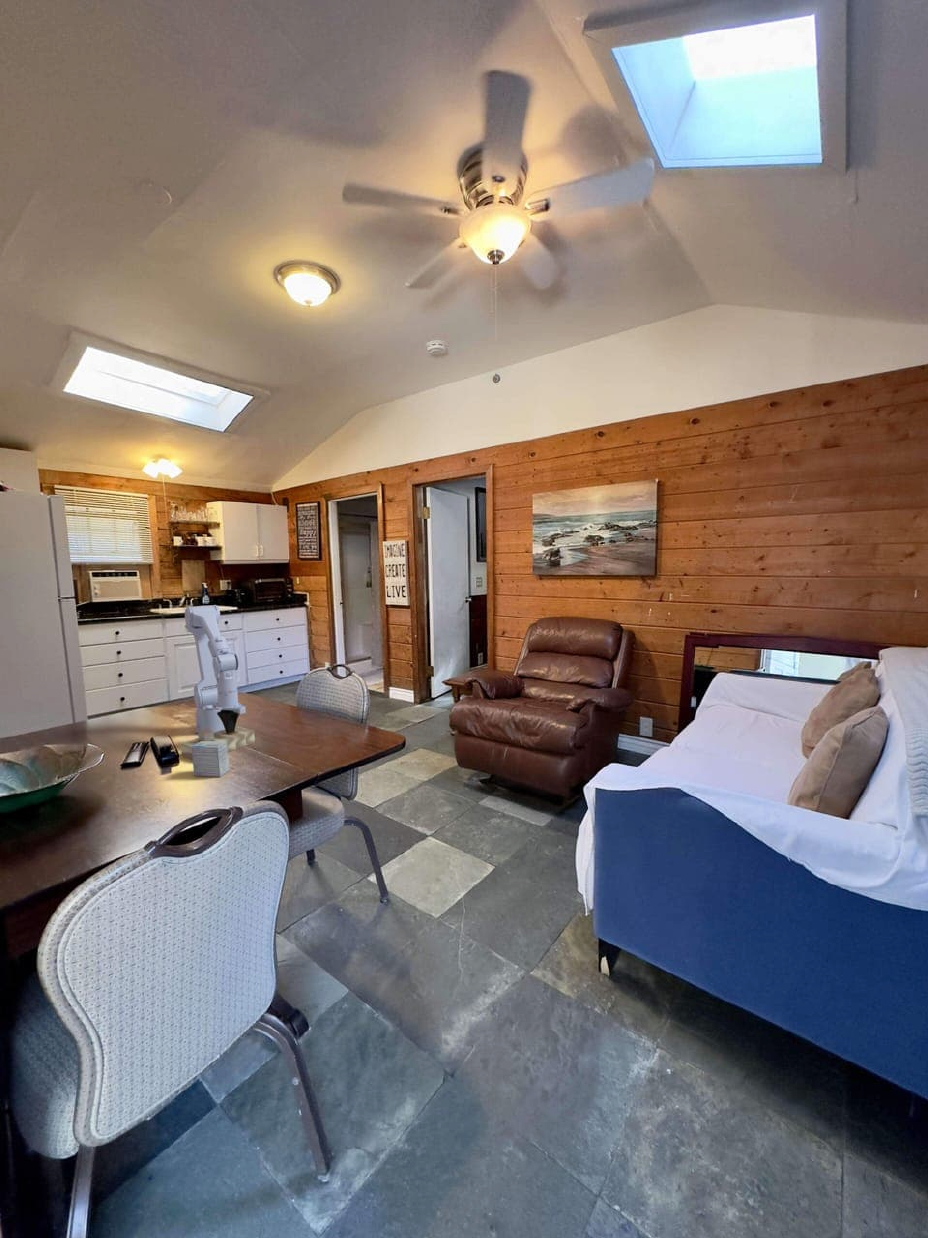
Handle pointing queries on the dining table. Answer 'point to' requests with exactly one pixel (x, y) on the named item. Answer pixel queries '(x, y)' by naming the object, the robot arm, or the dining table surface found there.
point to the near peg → (206, 735)
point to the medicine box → (210, 758)
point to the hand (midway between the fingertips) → (230, 732)
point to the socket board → (223, 740)
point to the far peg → (230, 733)
